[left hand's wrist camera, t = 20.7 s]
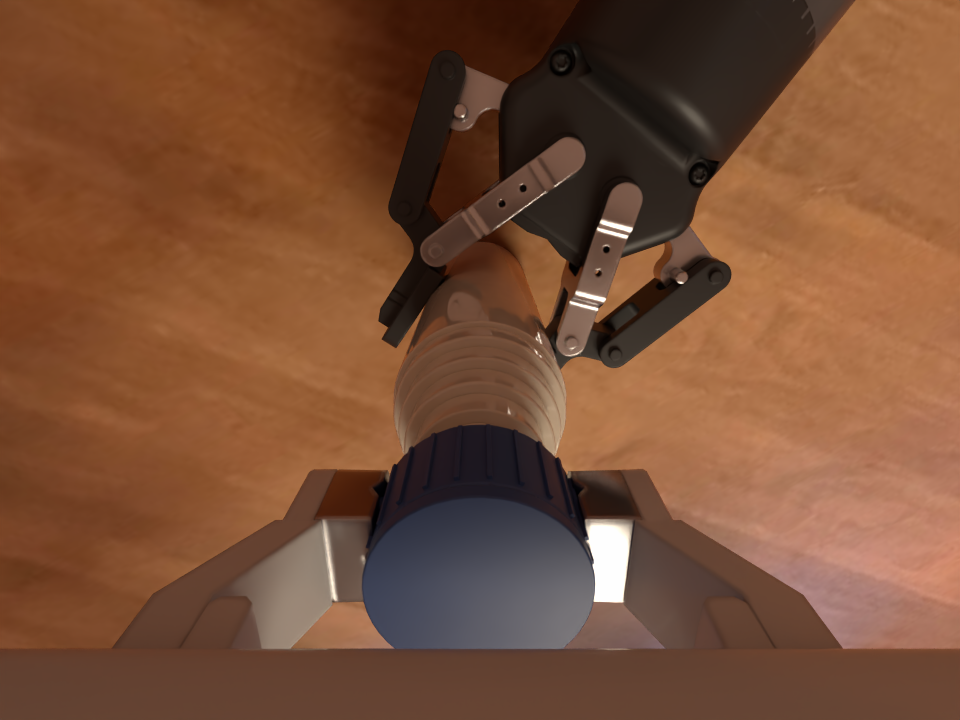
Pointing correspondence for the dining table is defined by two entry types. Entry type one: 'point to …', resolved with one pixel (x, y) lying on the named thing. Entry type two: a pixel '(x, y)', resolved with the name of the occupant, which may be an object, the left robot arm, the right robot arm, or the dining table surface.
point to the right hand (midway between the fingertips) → (447, 371)
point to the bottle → (480, 356)
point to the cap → (478, 546)
